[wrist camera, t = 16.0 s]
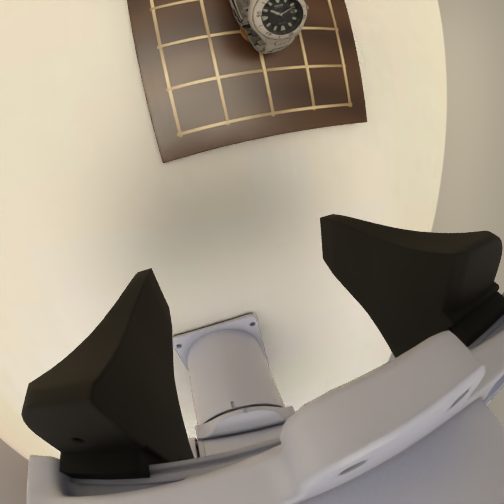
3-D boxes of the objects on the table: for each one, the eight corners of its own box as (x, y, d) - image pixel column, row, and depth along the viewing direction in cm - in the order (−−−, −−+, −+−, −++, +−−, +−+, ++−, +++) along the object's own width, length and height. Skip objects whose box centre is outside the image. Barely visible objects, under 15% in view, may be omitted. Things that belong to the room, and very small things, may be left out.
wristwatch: (246, 64, 14) (272, 47, 10) (206, -10, 11) (219, -46, 7) (294, 48, 15) (332, 31, 10) (255, -23, 11) (282, -56, 7)
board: (358, 120, 19) (368, 122, 18) (163, 160, 17) (162, 163, 16) (323, -39, 12) (330, -45, 11) (125, -25, 10) (122, -32, 9)
